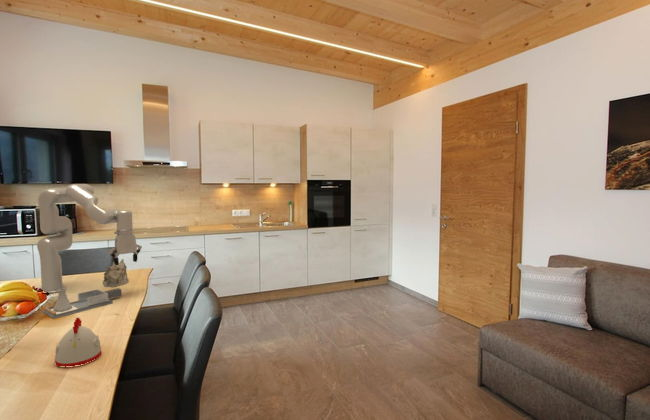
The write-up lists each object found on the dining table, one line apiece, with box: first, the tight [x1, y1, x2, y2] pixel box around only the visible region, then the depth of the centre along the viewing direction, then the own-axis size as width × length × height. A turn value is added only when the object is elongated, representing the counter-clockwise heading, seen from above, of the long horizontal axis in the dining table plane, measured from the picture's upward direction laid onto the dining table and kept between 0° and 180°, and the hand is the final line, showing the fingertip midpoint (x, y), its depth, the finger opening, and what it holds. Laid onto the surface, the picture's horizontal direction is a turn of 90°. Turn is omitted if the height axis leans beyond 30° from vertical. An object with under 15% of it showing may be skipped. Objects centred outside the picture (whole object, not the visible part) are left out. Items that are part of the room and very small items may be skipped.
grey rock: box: [102, 258, 129, 288], centre depth 219 cm, size 16×16×15 cm
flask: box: [53, 288, 72, 312], centre depth 172 cm, size 7×7×10 cm
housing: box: [77, 287, 122, 306], centre depth 187 cm, size 12×18×4 cm, turn 145°
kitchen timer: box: [54, 317, 102, 367], centre depth 129 cm, size 14×14×15 cm
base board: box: [42, 299, 114, 319], centre depth 178 cm, size 13×26×2 cm, turn 145°
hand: (126, 263), depth 196 cm, fingers open, 9 cm apart
